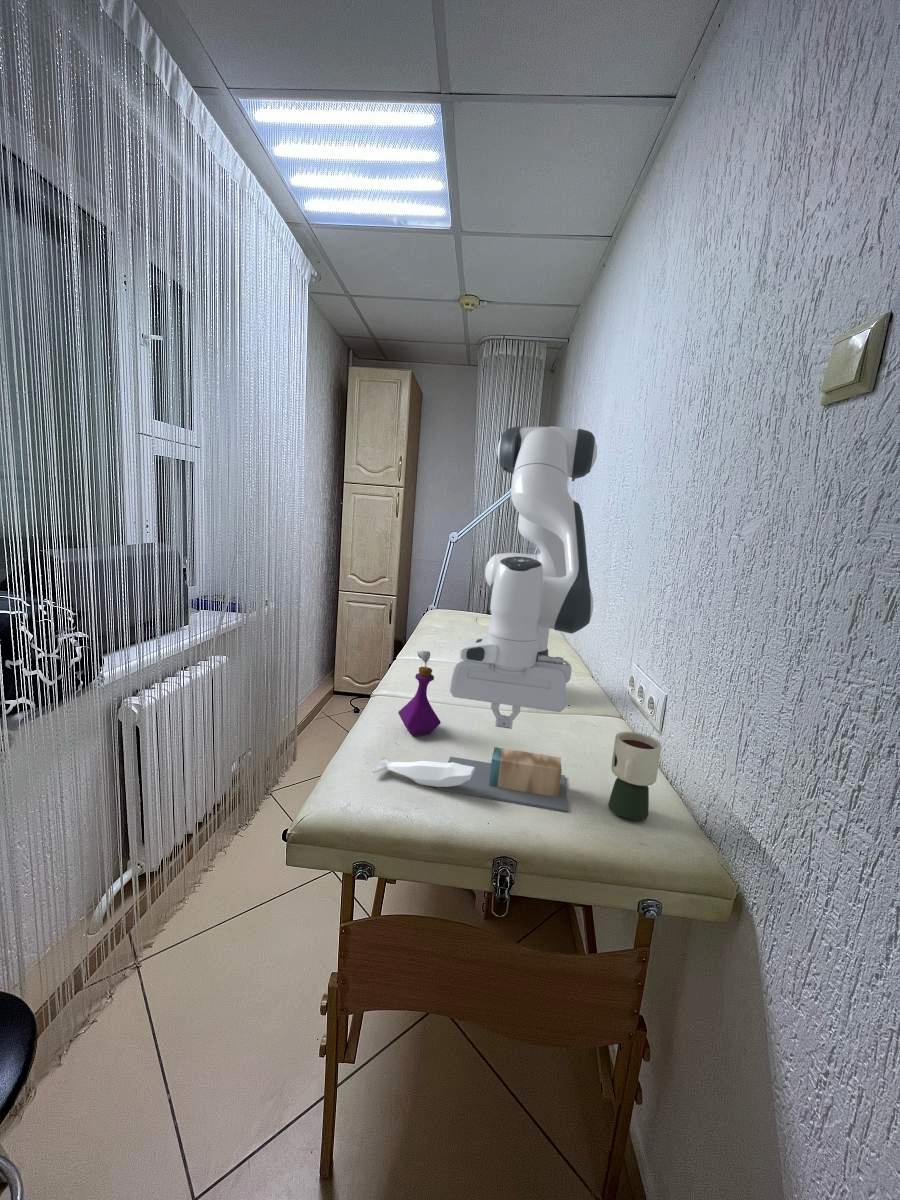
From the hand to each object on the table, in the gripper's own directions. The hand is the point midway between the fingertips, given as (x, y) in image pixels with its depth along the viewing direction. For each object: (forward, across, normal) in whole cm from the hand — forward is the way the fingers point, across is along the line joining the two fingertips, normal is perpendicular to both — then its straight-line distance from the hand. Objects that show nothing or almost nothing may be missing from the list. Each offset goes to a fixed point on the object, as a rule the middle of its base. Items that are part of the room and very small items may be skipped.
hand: (503, 726), depth 89 cm
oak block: (+8, +1, 0) cm, 8 cm away
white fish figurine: (+11, +13, +5) cm, 17 cm away
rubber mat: (+11, -1, 0) cm, 11 cm away
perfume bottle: (+11, +19, -16) cm, 27 cm away
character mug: (+11, -22, +3) cm, 25 cm away
